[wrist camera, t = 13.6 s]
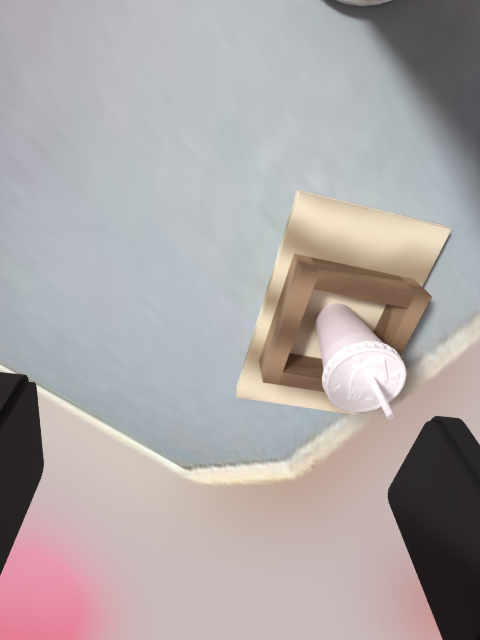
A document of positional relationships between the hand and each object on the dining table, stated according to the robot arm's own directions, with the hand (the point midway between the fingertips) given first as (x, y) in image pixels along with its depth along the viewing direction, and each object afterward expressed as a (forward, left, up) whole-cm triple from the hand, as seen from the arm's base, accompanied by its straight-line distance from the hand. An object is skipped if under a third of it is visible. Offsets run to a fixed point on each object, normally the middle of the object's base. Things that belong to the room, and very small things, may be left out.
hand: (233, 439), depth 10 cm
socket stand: (+10, +14, -28) cm, 33 cm away
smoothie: (+10, +14, -27) cm, 32 cm away
